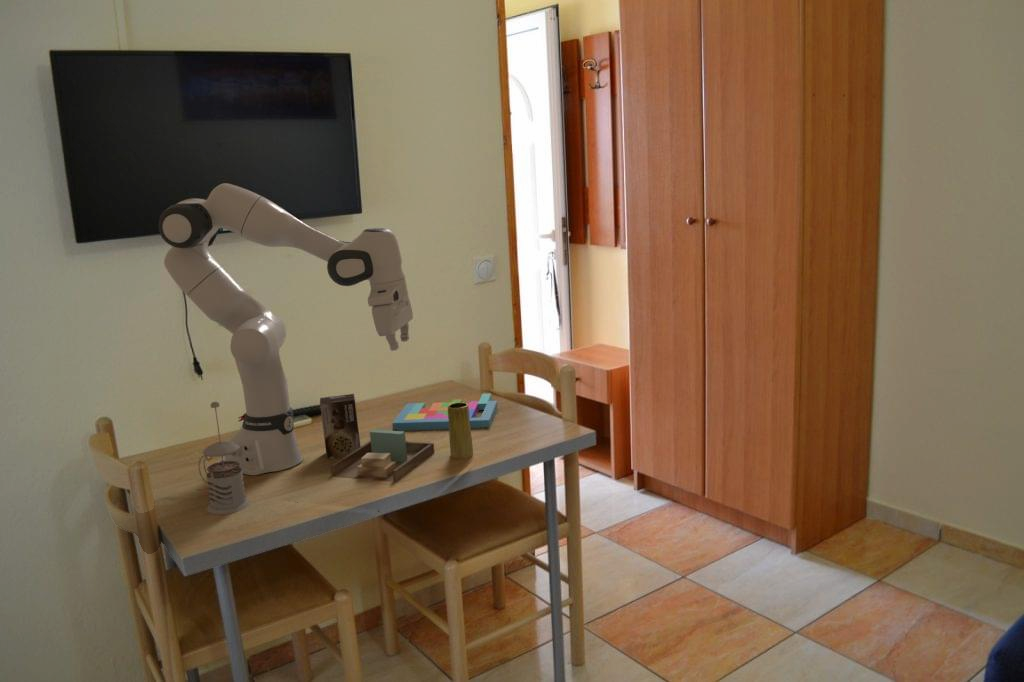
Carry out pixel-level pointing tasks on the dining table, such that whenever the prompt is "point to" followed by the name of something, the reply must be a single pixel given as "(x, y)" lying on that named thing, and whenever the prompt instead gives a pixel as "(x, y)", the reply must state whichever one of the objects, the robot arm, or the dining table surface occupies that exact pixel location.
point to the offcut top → (376, 459)
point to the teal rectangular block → (389, 444)
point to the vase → (460, 431)
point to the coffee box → (340, 425)
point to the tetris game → (443, 415)
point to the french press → (224, 478)
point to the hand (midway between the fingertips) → (400, 345)
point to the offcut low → (377, 470)
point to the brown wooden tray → (414, 457)
